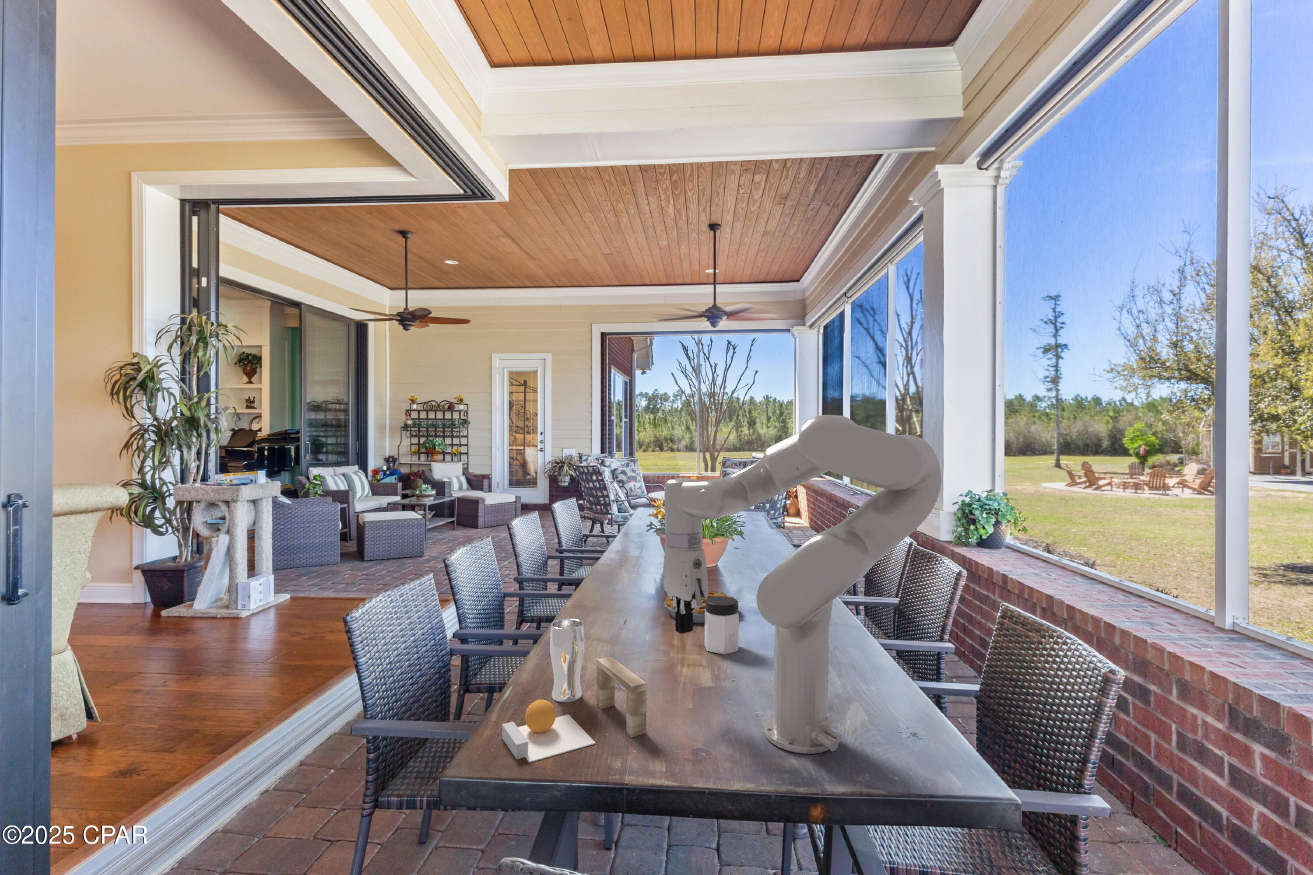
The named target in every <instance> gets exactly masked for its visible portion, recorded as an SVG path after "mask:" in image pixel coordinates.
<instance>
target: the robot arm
mask: <svg viewBox="0 0 1313 875" xmlns="http://www.w3.org/2000/svg"><path fill="white" fill-rule="evenodd" d="M828 472H831V473H834V474H836V475H840V476H843V477H846V478H849V479H853V480H856V481H857V482H861V483H864V484H867V485H870V486H874V487H877V488H879V490H877V492H875V493H874V494H873V495H872V496H870V497H869V498H868V499H867V500H866V501H864V502H863V503H862V504H861V505H860V506H859V508H857V509H856V510H854V512H852V513H851V514H849V516H847V517H846V518H845V519H844V520H842V521H840V522H839V523H838V524H836V525H834V526H831V527H829V528H827V529H825V530H822V531H821V532H818V533H817V534H815V535H814V536H812V537H811V538H810V539H808V540H807V541H806V542H804V543H803V544H802V545H801V546H799V547H798V548H797V549H796V550H795V551H794V552H793V553H792V554H790V555H789V556H788V557H787V558H785V559H784V560H783V561H782V562H781V563H780V564H778V565H777V566H776V567H775V568H774V569H773V570H772V571H771V572H769V573H767V575H766V576H765V577H764V578H763V579H762V581H761V582H760V584H759V586H758V588H757V591H756V606H757V609H758V612H759V613H760V615H761V617H762V618H763V619H764V620H765V622H767V623H768V624H770V625H771V626H774V649H773V650H774V652H773V654H774V655H773V712H772V713H773V714H772V716H771V717H770V718H768V720H767V721H765V724H764V728H763V729H764V735H765V737H766V738H767V740H768V742H770V743H772V744H773V745H775V746H777V747H778V748H779V749H782V750H785V751H789V752H793V753H797V754H803V755H804V754H808V755H811V754H812V755H814V754H821V753H825V752H827V751H831V752H835V751H837V749H838V747H839V743H841V742H842V740H843V735H842V734H841V733H839V732H838V731H836V730H835V729H834V728H833V718H831V717H829V714H828V713H829V712H828V711H829V710H828V707H829V706H828V705H829V657H830V656H829V654H830V630H831V629H830V627H831V626H830V625H831V617H832V610H833V602H834V601H835V599H837V598H838V597H840V596H841V595H842V594H844V593H845V592H846V591H847V590H848V589H849V588H851V587H852V586H853V585H854V584H855V583H857V582H858V581H859V580H860V579H862V578H863V577H864V576H865V575H866V574H867V573H868V572H869V571H870V569H871V568H872V567H873V566H874V565H876V563H877V562H879V561H880V560H881V559H882V558H883V557H884V556H886V555H887V554H889V553H890V552H891V551H892V550H893V549H895V548H897V546H898V545H899V544H900V543H902V541H904V540H905V539H907V538H908V537H909V536H910V535H911V534H912V533H914V531H916V530H917V529H918V528H919V527H920V525H922V524H923V522H925V520H926V519H927V518H928V517H929V515H931V513H932V511H933V509H934V507H935V506H936V503H937V502H938V499H939V496H940V492H941V486H942V473H941V472H942V471H941V465H940V462H939V459H938V455H937V454H936V452H935V450H934V449H933V447H932V446H931V445H930V444H929V443H928V442H927V441H926V440H924V439H923V438H922V437H919V436H918V435H917V436H916V435H914V434H913V435H911V434H893V433H889V432H886V431H882V430H879V429H874V428H871V427H867V426H863V425H859V424H857V423H856V422H855V421H853V420H852V419H851V418H849V417H847V416H844V415H839V414H838V415H837V414H821V415H820V414H819V415H817V416H814V417H812V418H811V419H809V420H807V421H806V422H805V423H804V424H803V425H802V427H801V428H800V430H799V431H798V432H797V433H795V434H793V435H791V436H789V437H787V438H785V439H782V440H781V441H778V442H777V443H775V444H772V445H770V446H769V447H768V448H766V450H764V453H763V455H762V458H760V459H759V460H758V461H756V462H755V463H753V464H752V465H750V466H748V467H746V468H744V469H742V470H740V471H739V472H736V473H734V474H732V475H729V476H727V477H719V478H714V479H709V480H701V481H699V480H698V479H695V478H690V477H687V478H685V477H683V478H682V477H681V478H671V479H668V480H667V481H666V482H665V484H664V548H665V549H664V554H663V566H662V567H663V570H662V576H663V578H662V579H663V580H662V581H663V582H662V583H663V589H664V592H666V593H667V597H668V596H669V597H670V598H671V599H672V601H673V607H674V611H677V612H675V618H674V620H675V622H674V624H675V625H674V626H675V632H677V633H679V634H681V635H682V634H686V633H691V632H693V630H694V622H693V612H694V611H695V608H698V607H701V606H702V603H701V598H707V596H708V592H709V580H708V568H707V560H706V555H705V549H704V548H703V519H704V520H710V521H712V520H713V521H714V520H718V519H723V518H725V517H728V516H732V515H736V514H740V513H741V512H744V511H746V510H748V509H750V508H753V507H754V506H757V505H758V504H761V503H763V502H765V501H767V500H769V499H771V498H774V497H775V496H777V495H780V494H783V493H786V492H787V491H789V490H791V489H792V490H793V489H794V488H795V487H797V486H801V485H802V484H804V483H806V482H809V481H810V480H812V479H814V478H817V477H819V476H821V475H824V474H826V473H828Z"/></svg>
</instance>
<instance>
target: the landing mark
mask: <svg viewBox="0 0 1313 875" xmlns="http://www.w3.org/2000/svg"><path fill="white" fill-rule="evenodd" d="M517 727H518V729H519V730H520V731H521V733H522V734H523V735H524V737H525V738H526V739H527V741H528V755H527V756H525V757H524V758H525V759H526V760H527V762H528V763H529V764H530V763H533V762H536V761H540V760H543V759H547V758H550V757H554V756H557V755H561V754H564V753H568V752H572V751H575V750H578V749H581V748H585V747H589V746H592V745H596V742H595V740H594V739H592V737H591V736H589V734H588V733H587V731H585V730H584V729H583V728H582V727H581V726H580V725H579V724H578V723H577V721H576V720H574V718H572V716H571V715H570V714H564V715H561V716H558V717H557V716H556V719H555V722H554V724H553V726H552V727H551V728H550V729H549V730H547V731H545V732H542V733H536V732H533V731H532V730H530V729H529V728H528V726H527V724H525V725H520V726H517Z"/></svg>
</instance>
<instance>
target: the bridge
mask: <svg viewBox="0 0 1313 875" xmlns="http://www.w3.org/2000/svg"><path fill="white" fill-rule="evenodd" d="M616 682H617V683H618V684H620V685H621V686H622V687H624V688H625V689H626V703H625V704H626V706H625V707H626V711H625V712H626V714H625V716H626V717H625V720H626V721H625V723H626V724H625V726H626V727H625V733H626V734H627V735H628V736H629V737H630V738H631V739H632V738H634V737H638V736H641V735H646V734H647V682H645V680H643V679H642V678H641V677H639V676H638V675H636V674H635V673H634V672H632V671H631V670H629V668H627V667H626V666H624V665H622V664H621V663H620V662H619V661H617V660H616V659H614V658H613V657H612V656H606V657H601V658H597V659H596V706H597V707H598V708H599V709H600V710H604V709H607V708H611V706H612V707H614V706H616V705H615V704H616V703H615V701H616V700H615V699H616V698H615V695H616V694H615V692H616V690H615V687H616V685H615V683H616Z"/></svg>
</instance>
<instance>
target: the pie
mask: <svg viewBox="0 0 1313 875" xmlns="http://www.w3.org/2000/svg"><path fill="white" fill-rule="evenodd" d="M715 596H724V597H731V598H734V597H733V595H730V596H729V595H727V593H725V592H720V593H717V591H714V590H711V591H708V596H707V598H710V597H715ZM707 598H701V603H702V606H701V607H698V608H695V611H694V612H693V624H705V609H706V599H707ZM663 603H664V607H665V608H666V609H667V610H668V613H669V615H670V617H672V618H673V619H675V612H677V611H674V607H673V601H672V599H671V598H670V597H669V596H668V595H667V597H666V598H665V600H664V602H663Z"/></svg>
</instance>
